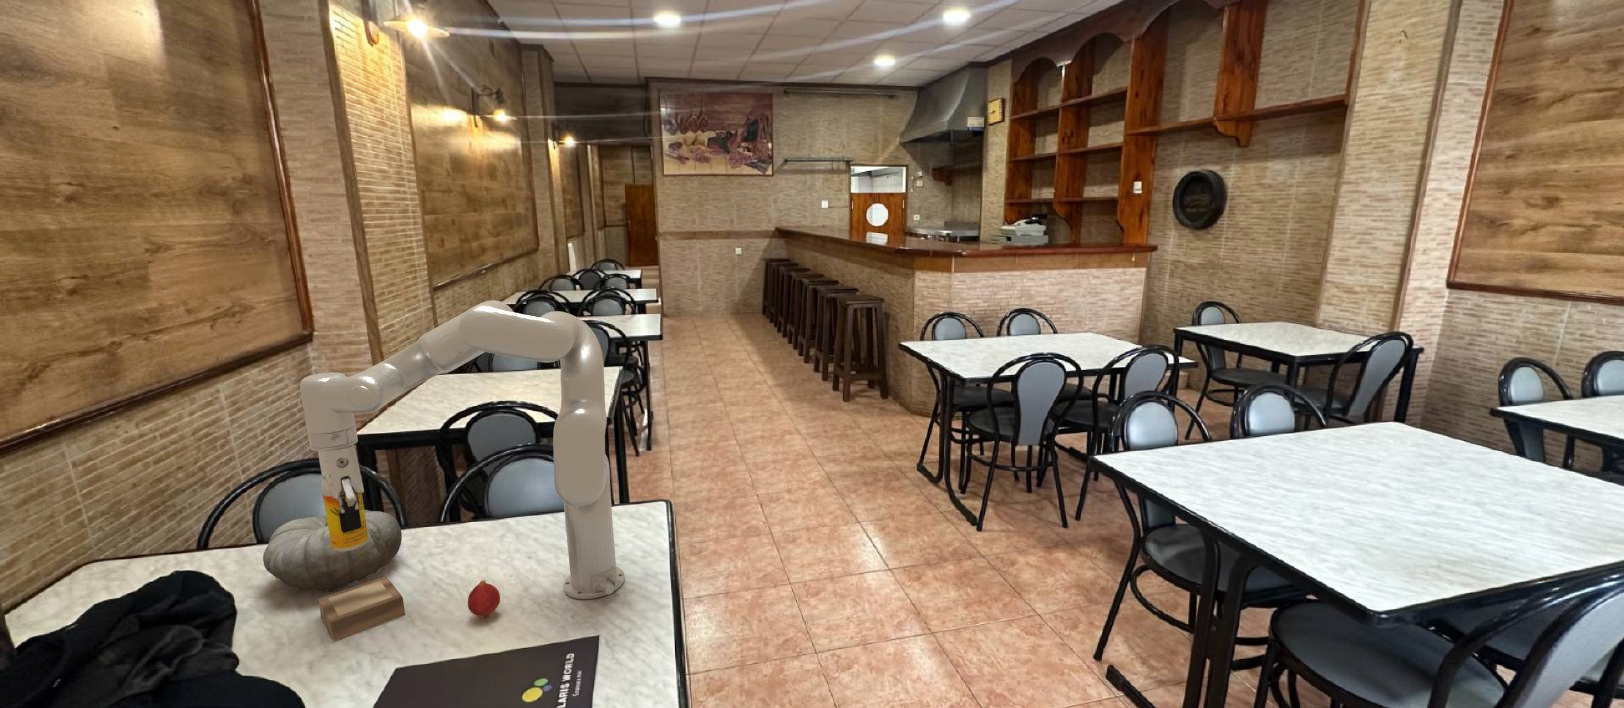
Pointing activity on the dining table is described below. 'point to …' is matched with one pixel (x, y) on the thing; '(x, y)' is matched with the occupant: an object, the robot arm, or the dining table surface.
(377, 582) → the walnut plinth
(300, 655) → the dining table surface
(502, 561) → the dining table surface
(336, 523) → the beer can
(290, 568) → the gourd
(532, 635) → the dining table surface
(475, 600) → the onion
